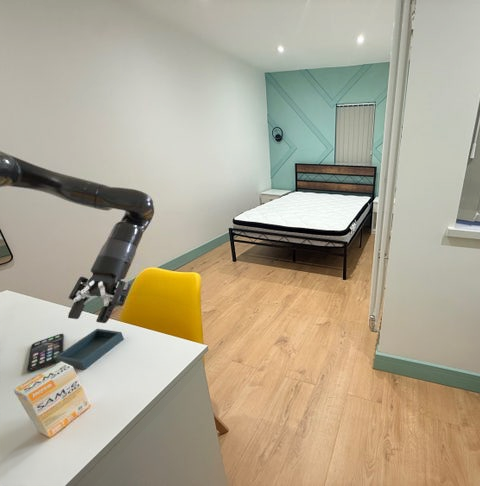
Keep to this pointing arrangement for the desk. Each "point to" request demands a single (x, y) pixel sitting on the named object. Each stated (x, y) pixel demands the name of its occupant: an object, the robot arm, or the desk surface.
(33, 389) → the supplement box
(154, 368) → the desk surface
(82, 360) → the pad dock
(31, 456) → the desk surface
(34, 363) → the smartphone
